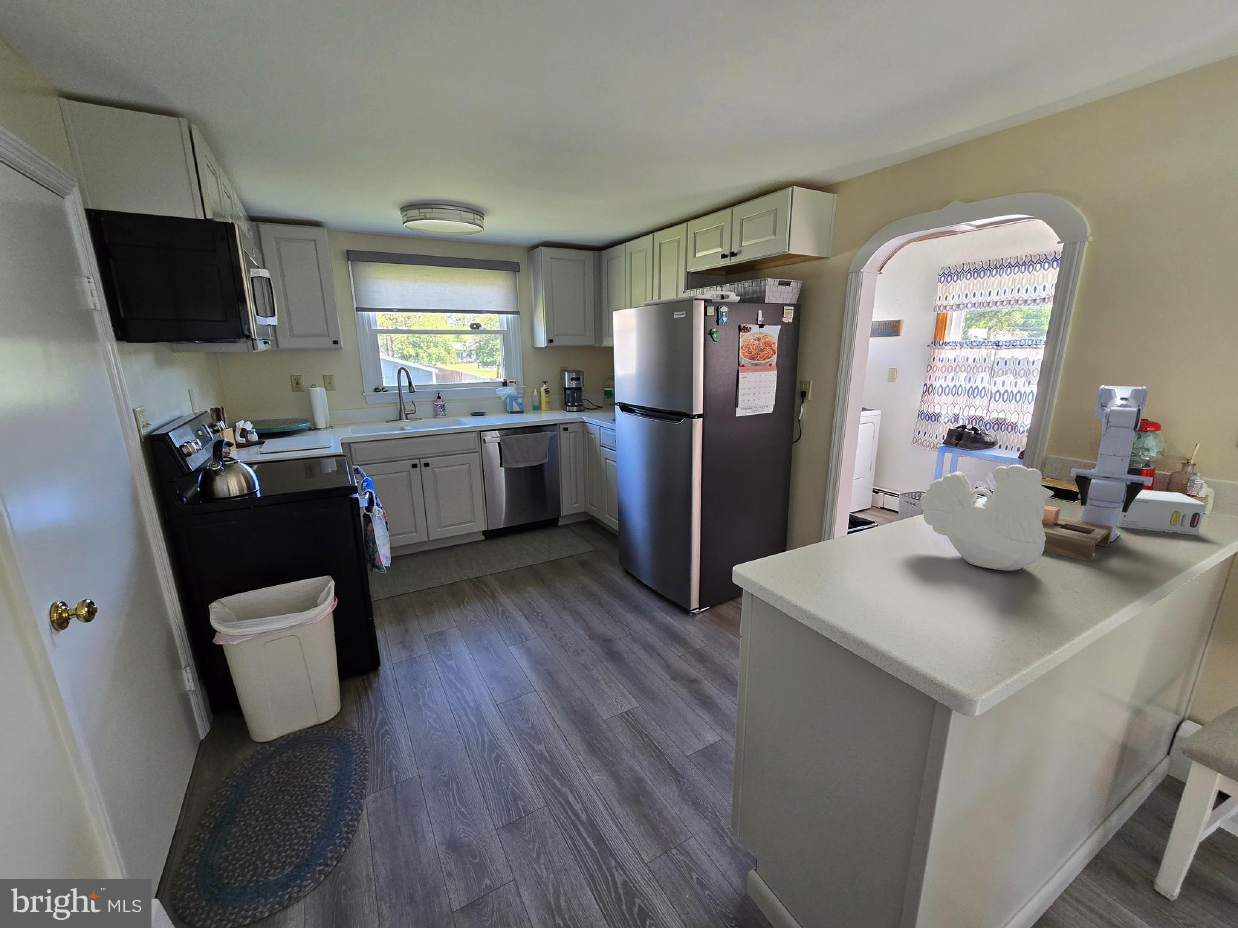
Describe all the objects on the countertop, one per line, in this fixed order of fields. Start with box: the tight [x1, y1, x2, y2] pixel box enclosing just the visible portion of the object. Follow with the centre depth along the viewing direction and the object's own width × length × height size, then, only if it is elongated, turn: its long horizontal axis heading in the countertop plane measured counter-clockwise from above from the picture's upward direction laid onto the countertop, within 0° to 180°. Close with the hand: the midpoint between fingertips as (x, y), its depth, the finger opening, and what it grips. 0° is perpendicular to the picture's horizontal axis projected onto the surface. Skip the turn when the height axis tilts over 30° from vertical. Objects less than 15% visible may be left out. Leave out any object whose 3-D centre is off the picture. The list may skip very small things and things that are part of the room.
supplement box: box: [1116, 489, 1207, 536], centre depth 145 cm, size 17×13×9 cm
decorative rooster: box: [919, 464, 1055, 571], centre depth 119 cm, size 25×16×25 cm, turn 29°
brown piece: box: [1042, 505, 1061, 526], centre depth 133 cm, size 4×4×8 cm
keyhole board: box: [1042, 515, 1113, 562], centre depth 131 cm, size 18×16×5 cm
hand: (1103, 508), depth 126 cm, fingers open, 7 cm apart
